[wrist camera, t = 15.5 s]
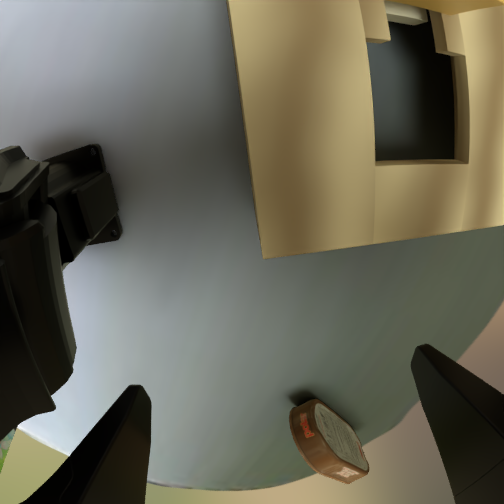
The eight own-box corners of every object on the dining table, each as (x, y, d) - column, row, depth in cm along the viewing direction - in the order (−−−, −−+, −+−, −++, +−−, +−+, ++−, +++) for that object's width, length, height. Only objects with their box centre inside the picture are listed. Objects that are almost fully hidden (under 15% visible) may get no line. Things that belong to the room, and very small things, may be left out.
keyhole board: (255, 212, 19) (263, 259, 13) (212, -91, 9) (206, -141, 3) (462, 192, 19) (514, 223, 13) (429, -66, 8) (472, -89, 3)
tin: (282, 395, 28) (293, 469, 20) (309, 382, 27) (326, 457, 20) (340, 437, 34) (353, 489, 26) (361, 427, 33) (376, 480, 26)
